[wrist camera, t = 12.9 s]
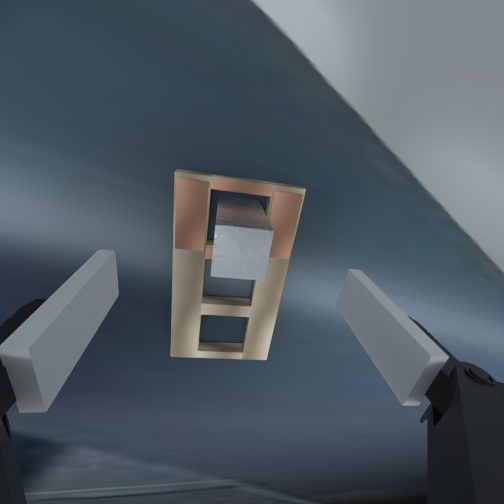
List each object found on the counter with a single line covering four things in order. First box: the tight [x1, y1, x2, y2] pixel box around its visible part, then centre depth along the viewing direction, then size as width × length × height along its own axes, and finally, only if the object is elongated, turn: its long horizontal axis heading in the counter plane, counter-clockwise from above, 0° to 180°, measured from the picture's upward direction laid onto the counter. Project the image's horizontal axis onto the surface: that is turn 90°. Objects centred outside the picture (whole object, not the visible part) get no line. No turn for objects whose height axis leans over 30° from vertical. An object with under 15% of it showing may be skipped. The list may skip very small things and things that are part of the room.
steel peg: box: [211, 195, 274, 281], centre depth 22 cm, size 4×4×9 cm
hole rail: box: [171, 169, 306, 360], centre depth 28 cm, size 12×22×2 cm, turn 172°
